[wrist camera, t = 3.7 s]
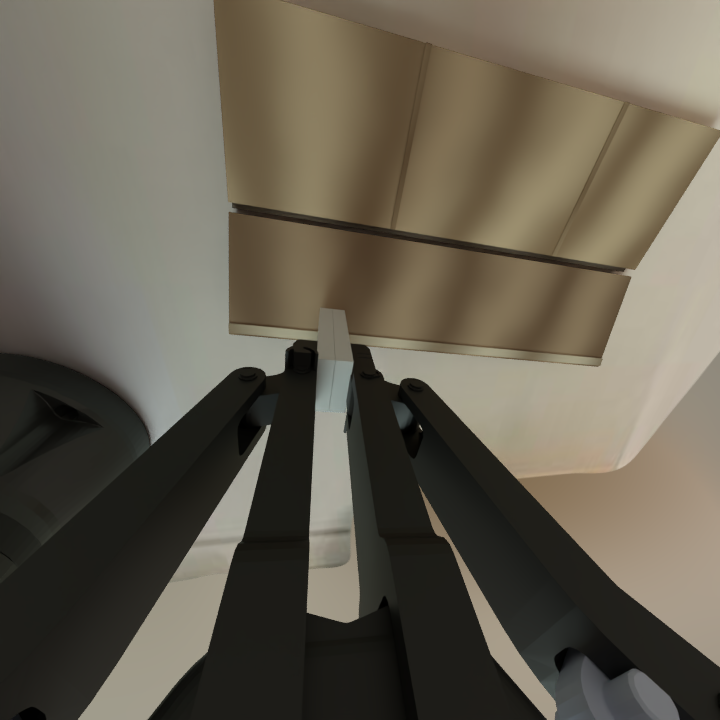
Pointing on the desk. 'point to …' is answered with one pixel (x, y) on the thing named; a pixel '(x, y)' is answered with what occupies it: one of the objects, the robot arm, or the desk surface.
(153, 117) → the desk surface
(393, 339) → the click plank
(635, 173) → the laid plank
